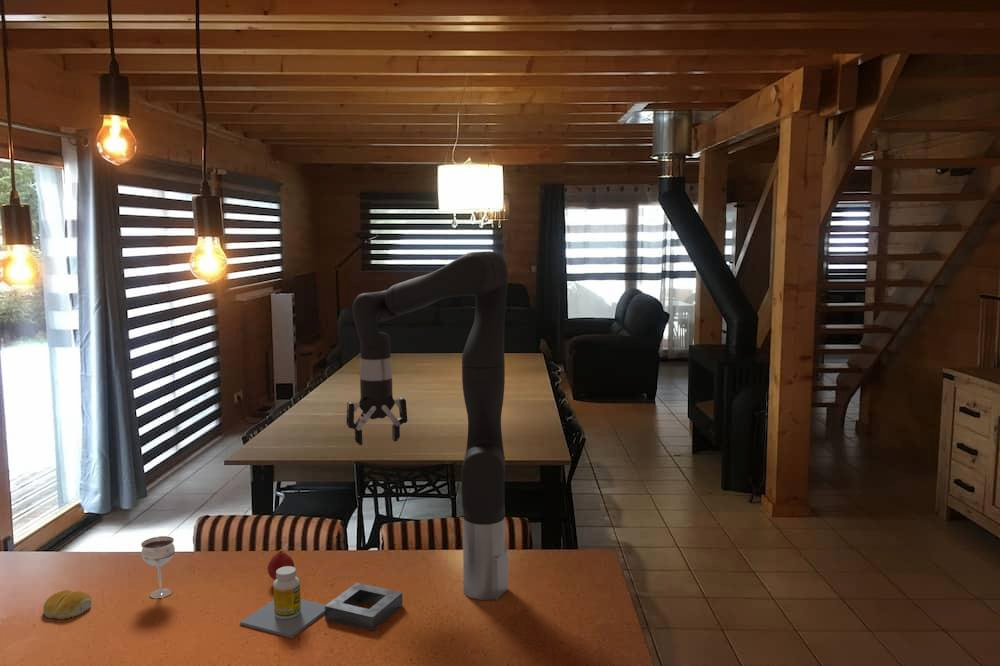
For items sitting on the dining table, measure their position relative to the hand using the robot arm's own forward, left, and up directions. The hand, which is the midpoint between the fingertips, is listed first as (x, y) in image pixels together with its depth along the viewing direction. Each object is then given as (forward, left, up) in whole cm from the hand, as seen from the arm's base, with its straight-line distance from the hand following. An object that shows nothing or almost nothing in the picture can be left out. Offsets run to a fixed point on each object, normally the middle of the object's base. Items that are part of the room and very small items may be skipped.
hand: (377, 442), depth 188 cm
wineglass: (+35, +35, -29) cm, 57 cm away
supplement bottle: (+2, +32, -29) cm, 43 cm away
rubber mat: (+3, +32, -29) cm, 44 cm away
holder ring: (-11, +24, -29) cm, 40 cm away
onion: (+14, +20, -29) cm, 38 cm away
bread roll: (+47, +49, -30) cm, 74 cm away
